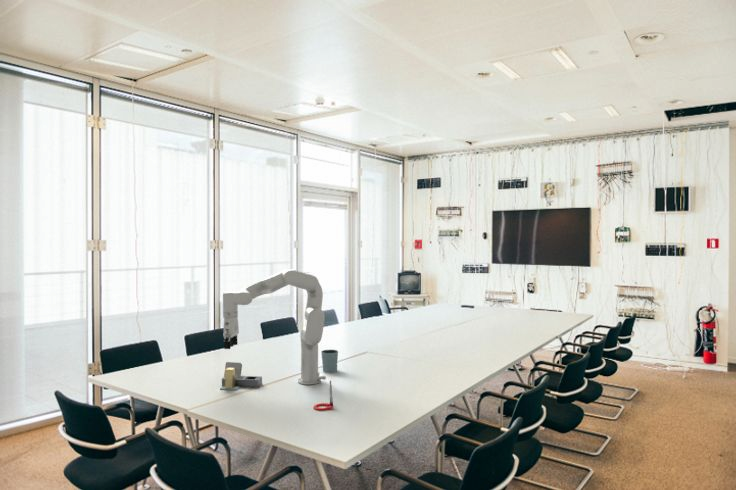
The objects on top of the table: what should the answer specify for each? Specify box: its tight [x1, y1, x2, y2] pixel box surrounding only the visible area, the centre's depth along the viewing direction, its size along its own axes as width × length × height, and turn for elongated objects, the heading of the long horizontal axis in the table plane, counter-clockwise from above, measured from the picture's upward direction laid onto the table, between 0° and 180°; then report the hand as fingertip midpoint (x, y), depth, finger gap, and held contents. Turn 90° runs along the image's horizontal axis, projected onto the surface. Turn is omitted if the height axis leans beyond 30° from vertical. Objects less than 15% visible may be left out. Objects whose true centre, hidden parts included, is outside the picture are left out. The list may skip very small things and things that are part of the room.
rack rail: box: [221, 375, 263, 389], centre depth 268 cm, size 20×7×4 cm, turn 84°
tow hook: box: [313, 380, 334, 412], centre depth 232 cm, size 8×13×9 cm
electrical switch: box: [223, 361, 243, 378], centre depth 282 cm, size 9×5×9 cm, turn 78°
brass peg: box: [224, 368, 235, 389], centre depth 261 cm, size 4×4×10 cm
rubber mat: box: [220, 386, 241, 391], centre depth 261 cm, size 9×5×1 cm, turn 84°
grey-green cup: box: [321, 349, 339, 374], centre depth 298 cm, size 10×10×12 cm
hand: (230, 346), depth 261 cm, fingers open, 9 cm apart
